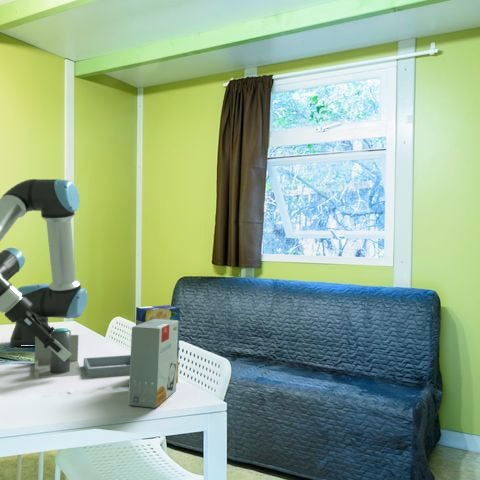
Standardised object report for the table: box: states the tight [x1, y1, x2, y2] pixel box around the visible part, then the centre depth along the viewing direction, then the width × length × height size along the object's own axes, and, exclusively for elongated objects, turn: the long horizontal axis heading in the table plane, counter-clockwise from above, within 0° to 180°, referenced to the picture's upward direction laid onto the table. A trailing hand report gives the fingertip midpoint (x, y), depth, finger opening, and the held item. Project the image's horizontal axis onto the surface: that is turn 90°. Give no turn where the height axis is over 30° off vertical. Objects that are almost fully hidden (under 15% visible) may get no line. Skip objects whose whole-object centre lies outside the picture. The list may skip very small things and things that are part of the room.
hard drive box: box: [127, 319, 178, 409], centre depth 127 cm, size 16×8×20 cm, turn 168°
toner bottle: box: [50, 327, 72, 374], centre depth 145 cm, size 6×6×13 cm
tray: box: [83, 354, 131, 379], centre depth 148 cm, size 14×16×4 cm
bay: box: [34, 334, 83, 380], centre depth 148 cm, size 18×13×10 cm
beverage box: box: [135, 304, 181, 383], centre depth 142 cm, size 7×11×22 cm, turn 127°
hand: (66, 352), depth 146 cm, fingers open, 13 cm apart
